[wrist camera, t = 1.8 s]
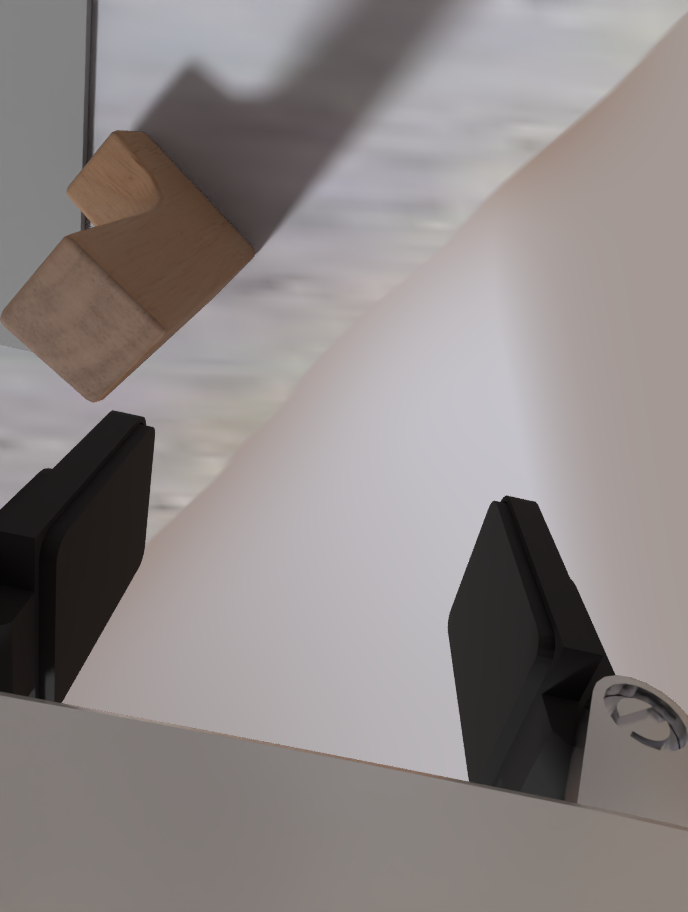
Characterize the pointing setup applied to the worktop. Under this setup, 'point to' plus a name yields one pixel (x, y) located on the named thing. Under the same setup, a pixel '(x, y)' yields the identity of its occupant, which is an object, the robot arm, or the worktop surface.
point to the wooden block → (125, 267)
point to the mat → (40, 133)
